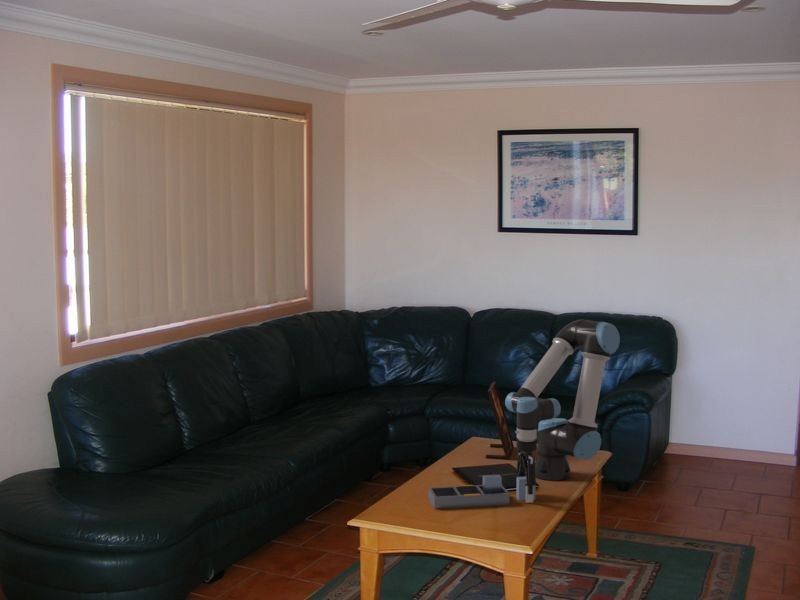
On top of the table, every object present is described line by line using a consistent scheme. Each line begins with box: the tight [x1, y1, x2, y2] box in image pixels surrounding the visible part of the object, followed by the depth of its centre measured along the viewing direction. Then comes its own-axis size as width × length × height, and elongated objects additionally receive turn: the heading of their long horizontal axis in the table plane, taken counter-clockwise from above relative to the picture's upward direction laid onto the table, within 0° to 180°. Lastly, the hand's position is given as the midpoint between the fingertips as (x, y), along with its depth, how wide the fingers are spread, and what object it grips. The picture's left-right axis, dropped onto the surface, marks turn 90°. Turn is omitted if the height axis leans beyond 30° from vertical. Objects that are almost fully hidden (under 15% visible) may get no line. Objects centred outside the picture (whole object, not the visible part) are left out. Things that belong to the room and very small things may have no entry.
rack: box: [427, 474, 510, 510], centre depth 335 cm, size 28×11×9 cm, turn 99°
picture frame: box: [485, 381, 515, 461], centre depth 399 cm, size 21×11×30 cm, turn 168°
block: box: [515, 476, 537, 501], centre depth 339 cm, size 6×3×8 cm, turn 99°
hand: (525, 497), depth 339 cm, fingers open, 9 cm apart
